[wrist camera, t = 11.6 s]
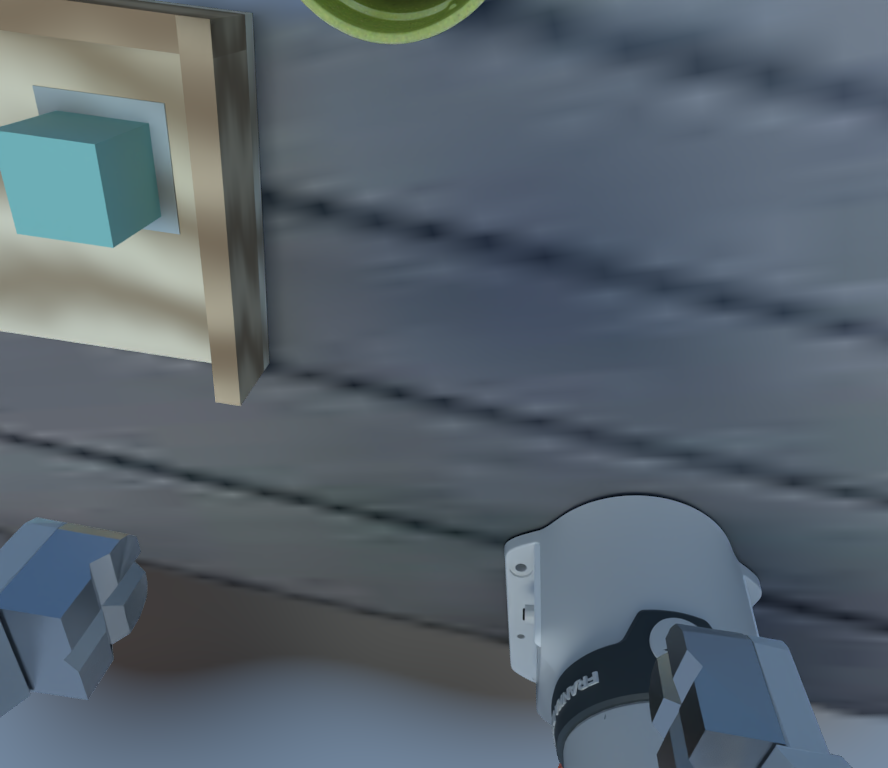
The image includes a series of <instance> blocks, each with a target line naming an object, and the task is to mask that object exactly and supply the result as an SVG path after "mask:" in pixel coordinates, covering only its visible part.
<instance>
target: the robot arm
mask: <svg viewBox="0 0 888 768" xmlns="http://www.w3.org/2000/svg"><path fill="white" fill-rule="evenodd" d="M140 552H141V550H140V547H139V543H138V540H137V536H133V535H129V534H124V533H119V532H114V531H109V530H103V529H98V528H93V527H88V526H83V525H78V524H72V523H66V522H61V521H55V520H49V519H44V518H38V517H37V518H35V519H33V520H31V521H28V522H26V523H25V524H24V525H23V526H22V527H21V528H20V529H19V530H18V531H17V532H16V533H15V534H14V535H13V536H12V537H11V538H10V539H9V540H8V541H7V542H6V543H5V544H4V545H3V547H2V548H1V549H0V717H1V716H3V715H4V714H6V713H7V712H8V711H10V710H11V709H13V708H14V707H15V706H17V705H18V704H19V703H20V702H22V701H23V700H25V699H26V698H28V697H29V696H30V695H31V693H30V691H31V692H38V693H45V694H52V695H59V696H66V697H73V698H79V699H85V700H88V699H89V697H90V696H91V694H92V692H93V691H94V690H95V688H96V686H97V685H98V683H99V682H100V680H101V679H102V677H103V675H104V674H105V672H106V670H107V669H108V668H109V666H110V664H111V663H112V661H113V660H114V657H113V649H112V644H113V643H115V642H117V641H118V640H120V639H121V638H123V637H124V636H126V635H128V634H130V632H131V631H132V629H133V627H134V626H135V624H136V622H137V621H138V619H139V617H140V615H141V612H142V609H143V606H144V603H145V600H146V597H147V578H146V573H145V571H144V570H143V569H142V568H141V567H140V566H139V565H138V564H137V563H136V562H135V560H136V558H137V557H138V555H139V554H140ZM504 557H505V576H506V594H507V613H508V631H509V649H510V662H511V667H512V669H513V670H514V671H515V672H517V673H518V674H520V675H521V676H523V677H524V678H526V679H528V680H530V681H533V682H535V683H536V705H537V712H538V714H539V715H540V716H541V717H542V719H544V720H545V721H546V722H547V723H549V724H550V725H552V734H553V740H554V744H555V747H556V751H557V756H558V759H559V762H560V764H559V766H558V768H852V767H851V766H850V765H849V764H848V763H847V762H846V761H845V760H844V759H843V758H842V756H838V755H833V754H830V753H829V751H828V748H827V745H826V743H825V741H824V738H823V735H822V733H821V730H820V728H819V725H818V722H817V720H816V717H815V714H814V712H813V709H812V707H811V704H810V702H809V699H808V696H807V694H806V691H805V689H804V686H803V684H802V681H801V678H800V676H799V673H798V671H797V668H796V665H795V663H794V660H793V658H792V655H791V653H790V650H789V648H788V646H787V645H786V644H785V643H784V642H783V641H782V640H776V639H770V638H764V637H759V633H758V629H757V625H756V621H755V617H754V613H753V609H752V607H753V606H754V605H755V604H756V603H757V601H758V600H759V599H760V598H761V596H762V590H761V585H760V581H759V579H758V577H757V576H756V575H755V574H754V573H753V572H752V571H750V570H749V569H748V568H747V567H745V566H744V565H743V564H741V563H740V562H739V561H738V560H737V558H736V556H735V554H734V552H733V549H732V547H731V544H730V542H729V540H728V538H727V536H726V535H725V533H724V532H723V531H722V529H721V528H720V527H719V526H718V525H717V524H716V523H715V522H714V521H713V520H712V519H710V518H709V517H708V516H706V515H705V514H703V513H702V512H700V511H698V510H696V509H695V508H692V507H690V506H688V505H685V504H683V503H680V502H677V501H674V500H670V499H665V498H660V497H653V496H637V495H633V496H618V497H611V498H606V499H601V500H597V501H594V502H590V503H587V504H585V505H582V506H580V507H578V508H575V509H573V510H572V511H570V512H568V513H566V514H565V515H563V516H562V517H560V518H559V519H557V520H556V521H554V522H553V523H552V524H550V525H549V526H547V527H545V528H544V529H542V530H539V531H535V532H531V533H527V534H524V535H521V536H518V537H515V538H513V539H511V540H509V541H508V542H507V543H506V544H505V547H504Z"/></svg>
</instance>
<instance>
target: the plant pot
mask: <svg viewBox="0 0 888 768" xmlns="http://www.w3.org/2000/svg"><path fill="white" fill-rule="evenodd" d="M301 1H302V2H303V3H304V4H305V5H306V6H307V7H308V8H309V9H310V10H311V11H312V12H313V13H315V14H316V15H317V16H318V17H319V18H321V19H322V20H323V21H325V22H326V23H327V24H329V25H330V26H332V27H334V28H335V29H337V30H339V31H341V32H343V33H345V34H347V35H350V36H352V37H354V38H358V39H361V40H364V41H369V42H373V43H379V44H405V43H412V42H416V41H420V40H424V39H427V38H431V37H433V36H436V35H438V34H440V33H442V32H444V31H446V30H448V29H450V28H452V27H453V26H455V25H456V24H458V23H459V22H461V21H462V20H464V19H465V18H467V17H468V16H469V15H470V14H471V13H473V12H474V11H475V10H476V9H477V8H478V7H479V6H480V5H481V4H482V3H483V2H484V1H485V0H301Z"/></svg>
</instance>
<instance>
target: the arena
mask: <svg viewBox="0 0 888 768" xmlns="http://www.w3.org/2000/svg"><path fill="white" fill-rule="evenodd" d="M56 110H57V111H64V112H71V113H78V114H86V115H93V116H100V117H107V118H115V119H122V120H129V121H136V122H144V123H149V128H150V136H151V143H152V150H153V158H154V165H155V173H156V180H157V188H158V195H159V203H160V210H161V217H160V218H158V219H157V220H155V221H154V222H152V223H151V224H149V225H148V226H146V227H145V228H143V229H142V230H140V231H138V232H137V233H135V234H134V235H132V236H131V237H129V238H128V239H126V240H125V241H123V242H122V243H120V244H119V245H117V246H116V247H114V248H110V247H104V246H97V245H90V244H83V243H76V242H69V241H63V240H56V239H49V238H42V237H35V236H28V235H21V234H17V232H16V228H15V224H14V221H13V217H12V213H11V209H10V205H9V201H8V198H7V194H6V190H5V186H4V182H3V179H2V175H1V171H0V331H4V332H11V333H17V334H24V335H30V336H37V337H43V338H50V339H57V340H63V341H70V342H76V343H83V344H89V345H96V346H103V347H109V348H116V349H122V350H129V351H136V352H142V353H149V354H155V355H162V356H168V357H175V358H182V359H188V360H195V361H201V362H208V363H212V372H213V381H214V391H215V400H216V402H218V403H225V404H231V405H237V406H241V405H242V403H243V402H244V400H245V399H246V397H247V396H248V394H249V393H250V391H251V390H252V388H253V387H254V385H255V384H256V382H257V381H258V379H259V378H260V376H261V375H262V373H263V372H264V370H265V369H266V367H267V366H268V364H269V346H268V325H267V304H266V283H265V262H264V242H263V221H262V200H261V179H260V158H259V137H258V116H257V95H256V74H255V54H254V33H253V13H247V12H239V11H232V10H224V9H216V8H209V7H201V6H193V5H186V4H178V3H170V2H163V1H155V0H0V127H1V126H4V125H8V124H11V123H15V122H18V121H22V120H25V119H29V118H32V117H35V116H39V115H42V114H46V113H49V112H53V111H56Z"/></svg>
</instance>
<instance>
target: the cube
mask: <svg viewBox="0 0 888 768" xmlns="http://www.w3.org/2000/svg"><path fill="white" fill-rule="evenodd" d="M0 171H1V175H2V179H3V182H4V186H5V190H6V194H7V198H8V201H9V205H10V209H11V213H12V217H13V221H14V224H15V228H16V232H17V234H21V235H28V236H35V237H42V238H49V239H56V240H63V241H69V242H76V243H83V244H90V245H97V246H104V247H110V248H114V247H116V246H117V245H119V244H120V243H122V242H123V241H125V240H126V239H128V238H129V237H131V236H132V235H134V234H135V233H137V232H138V231H140V230H142V229H143V228H145V227H146V226H148V225H149V224H151V223H152V222H154V221H155V220H157V219H158V218H160V217H161V210H160V203H159V195H158V188H157V180H156V173H155V165H154V158H153V150H152V143H151V136H150V128H149V123H144V122H136V121H129V120H122V119H115V118H107V117H100V116H93V115H86V114H78V113H71V112H64V111H57V110H56V111H53V112H49V113H46V114H42V115H39V116H35V117H32V118H29V119H25V120H22V121H18V122H15V123H11V124H8V125H4V126H1V127H0Z"/></svg>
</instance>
